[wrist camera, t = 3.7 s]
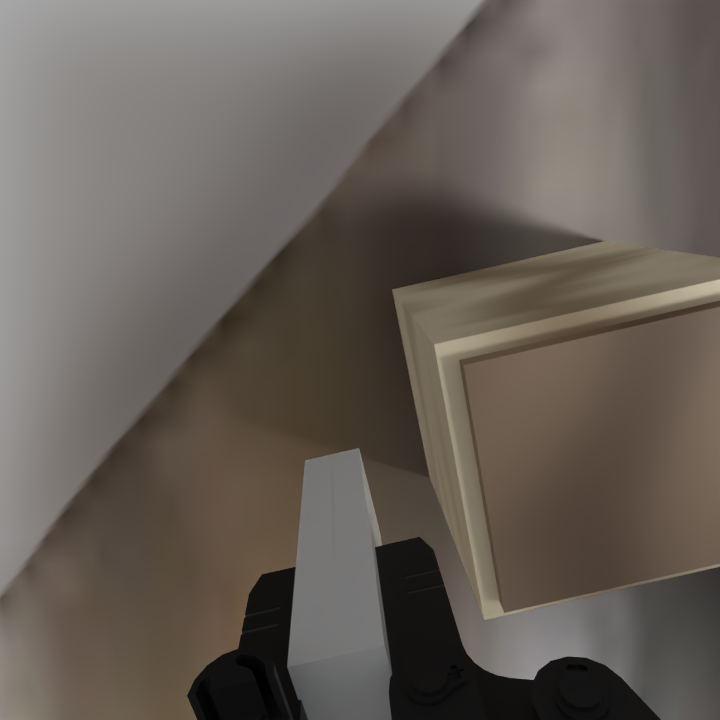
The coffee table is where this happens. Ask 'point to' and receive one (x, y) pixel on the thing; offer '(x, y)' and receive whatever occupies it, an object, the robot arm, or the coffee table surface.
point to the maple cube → (571, 419)
